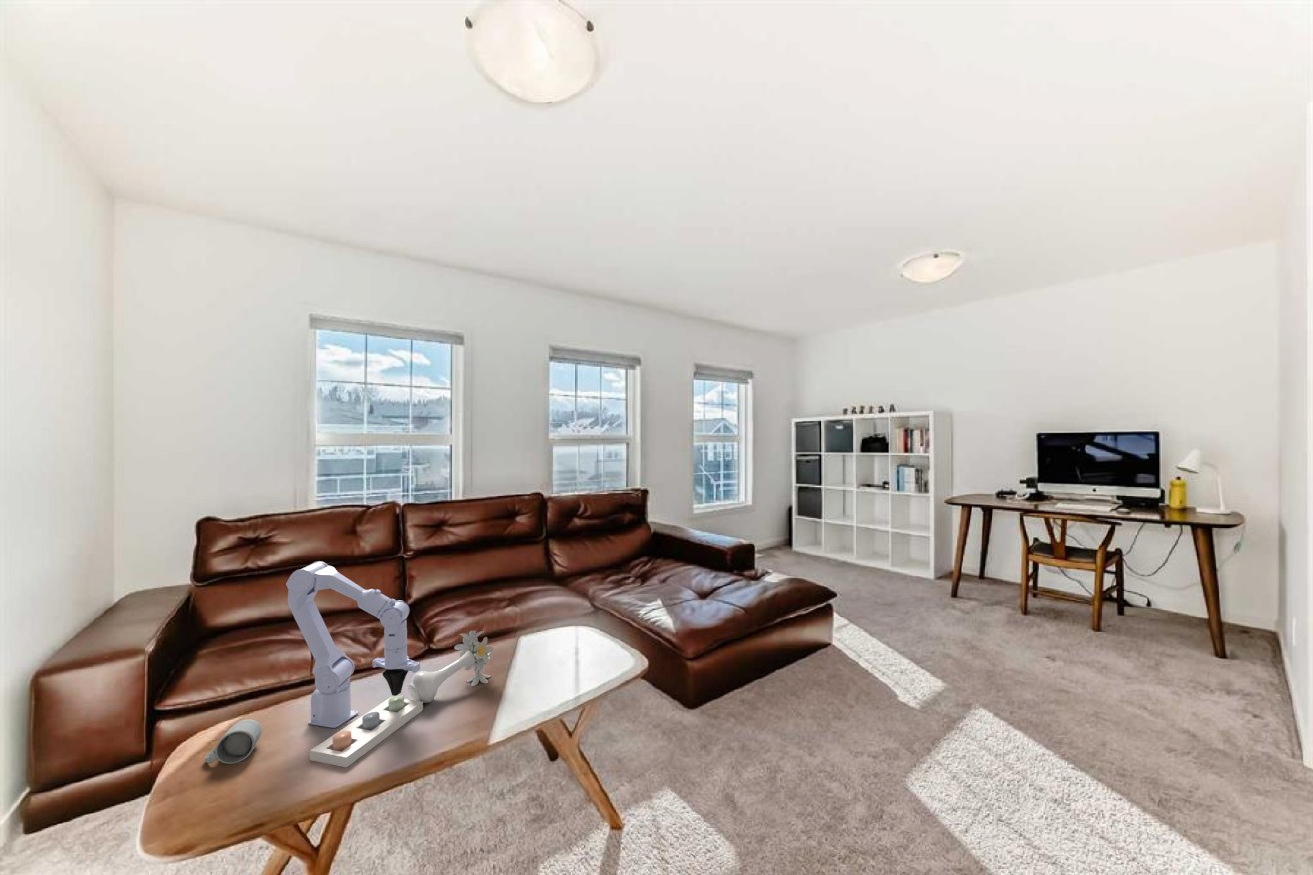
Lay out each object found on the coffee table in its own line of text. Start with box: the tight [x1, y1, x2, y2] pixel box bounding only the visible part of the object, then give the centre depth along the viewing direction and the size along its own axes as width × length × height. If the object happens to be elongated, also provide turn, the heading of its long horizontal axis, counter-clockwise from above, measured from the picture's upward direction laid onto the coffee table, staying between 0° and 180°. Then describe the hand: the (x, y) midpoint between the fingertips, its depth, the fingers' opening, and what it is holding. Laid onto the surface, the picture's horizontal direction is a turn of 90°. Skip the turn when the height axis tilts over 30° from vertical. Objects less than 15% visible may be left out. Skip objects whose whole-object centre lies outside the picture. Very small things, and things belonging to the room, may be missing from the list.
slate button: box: [361, 712, 380, 731], centre depth 135 cm, size 4×4×3 cm
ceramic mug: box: [204, 718, 263, 765], centre depth 126 cm, size 11×8×8 cm
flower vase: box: [407, 630, 494, 704], centre depth 158 cm, size 13×18×25 cm
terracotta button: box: [332, 731, 352, 752], centre depth 126 cm, size 4×4×3 cm
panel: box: [309, 696, 424, 768], centre depth 135 cm, size 11×26×2 cm, turn 165°
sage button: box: [388, 694, 405, 712], centre depth 144 cm, size 4×4×3 cm
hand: (396, 693), depth 144 cm, fingers closed
